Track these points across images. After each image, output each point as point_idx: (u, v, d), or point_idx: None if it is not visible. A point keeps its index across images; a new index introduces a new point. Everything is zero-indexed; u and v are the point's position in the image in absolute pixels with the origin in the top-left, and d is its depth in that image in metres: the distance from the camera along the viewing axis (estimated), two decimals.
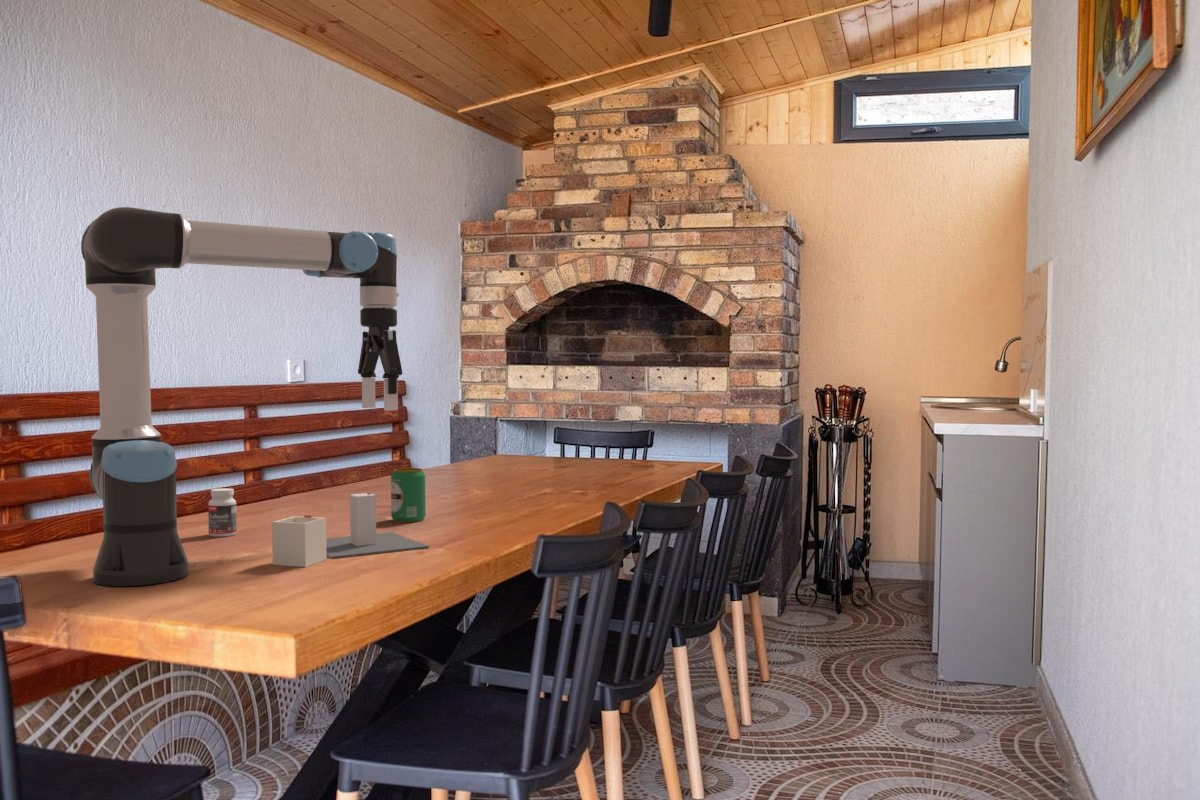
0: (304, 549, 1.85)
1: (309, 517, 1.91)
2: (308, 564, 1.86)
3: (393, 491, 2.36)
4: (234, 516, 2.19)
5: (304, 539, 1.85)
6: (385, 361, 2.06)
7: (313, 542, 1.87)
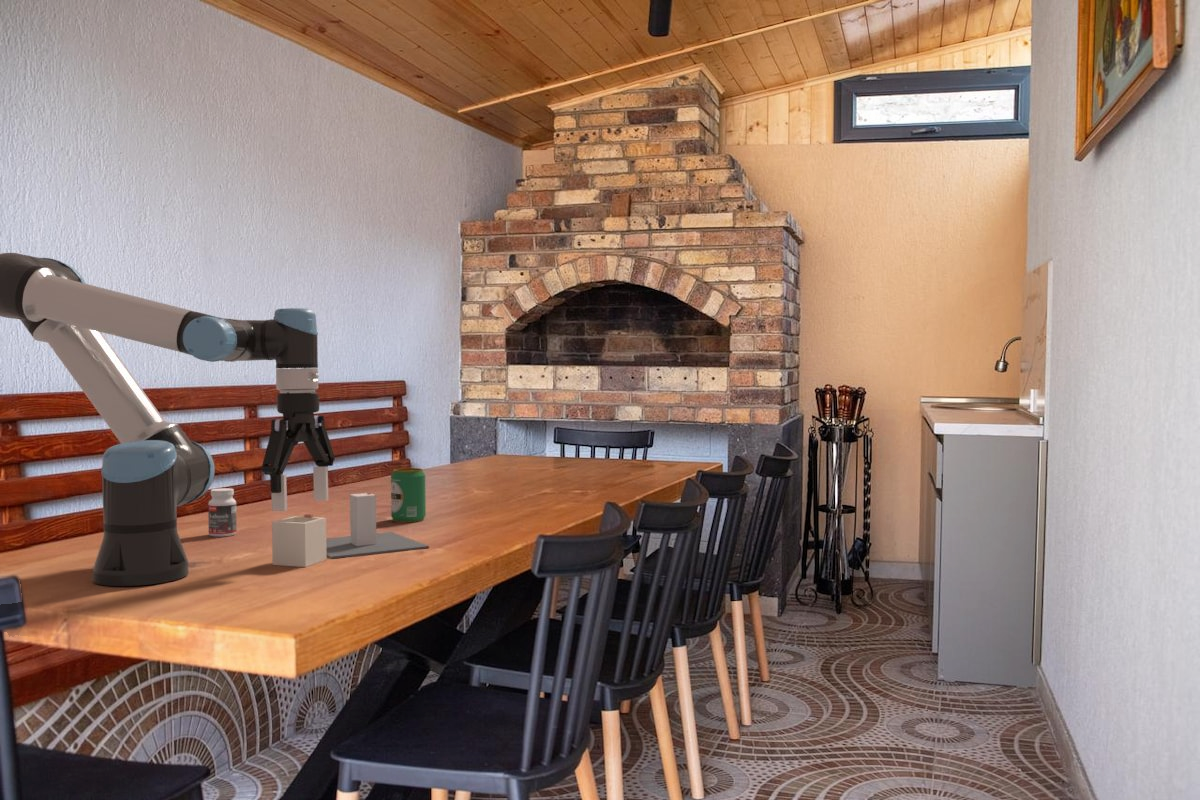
0: (304, 549, 1.85)
1: (309, 517, 1.91)
2: (308, 564, 1.86)
3: (393, 491, 2.36)
4: (234, 516, 2.19)
5: (304, 539, 1.85)
6: None
7: (313, 542, 1.87)
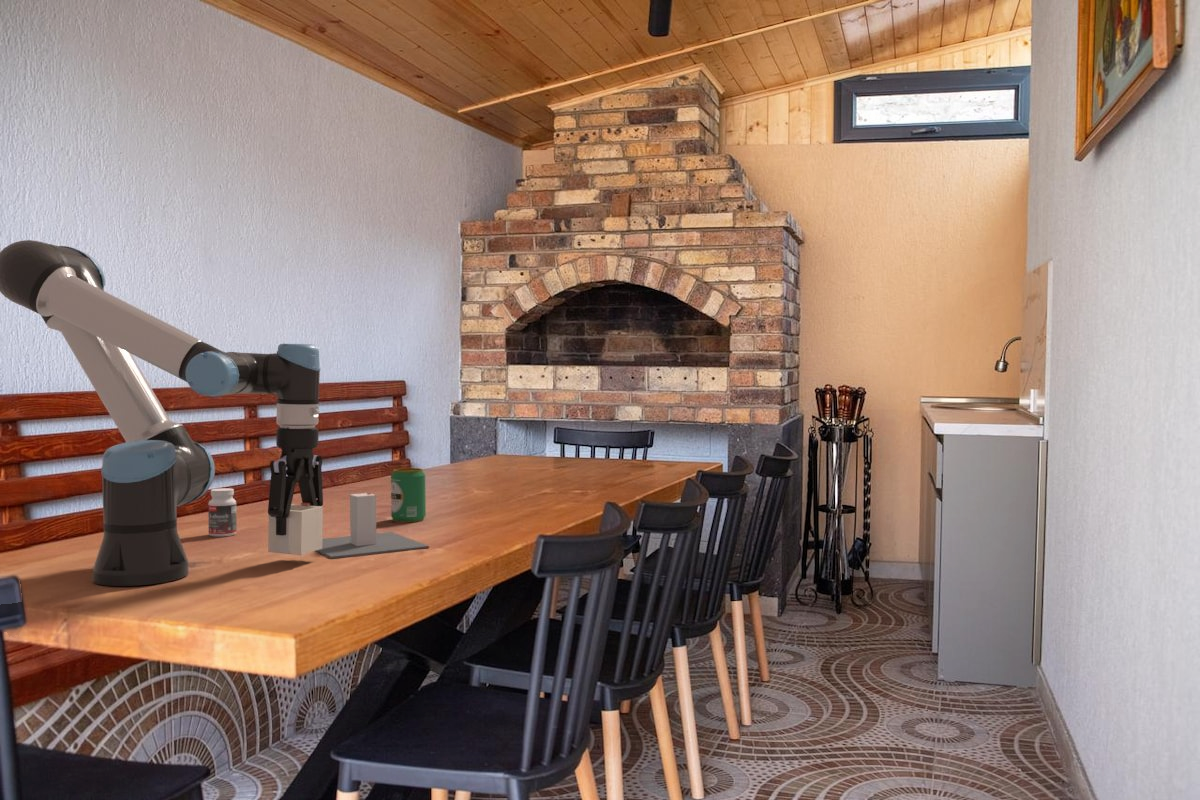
0: (300, 537, 1.85)
1: (306, 505, 1.91)
2: (304, 552, 1.86)
3: (393, 491, 2.36)
4: (234, 516, 2.19)
5: (300, 527, 1.85)
6: None
7: (309, 530, 1.87)
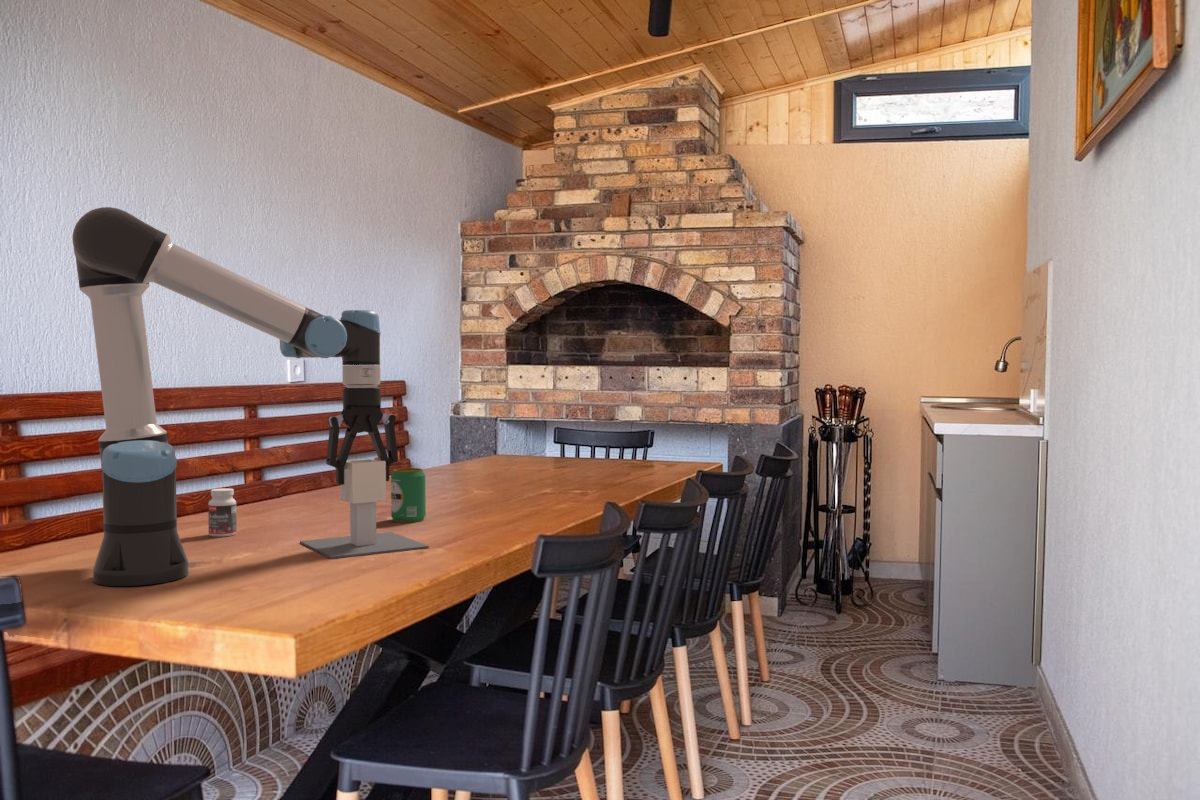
0: (352, 487, 2.01)
1: (376, 460, 2.07)
2: (357, 501, 2.02)
3: (393, 491, 2.36)
4: (234, 516, 2.19)
5: (352, 478, 2.01)
6: (340, 449, 2.04)
7: (365, 482, 2.02)
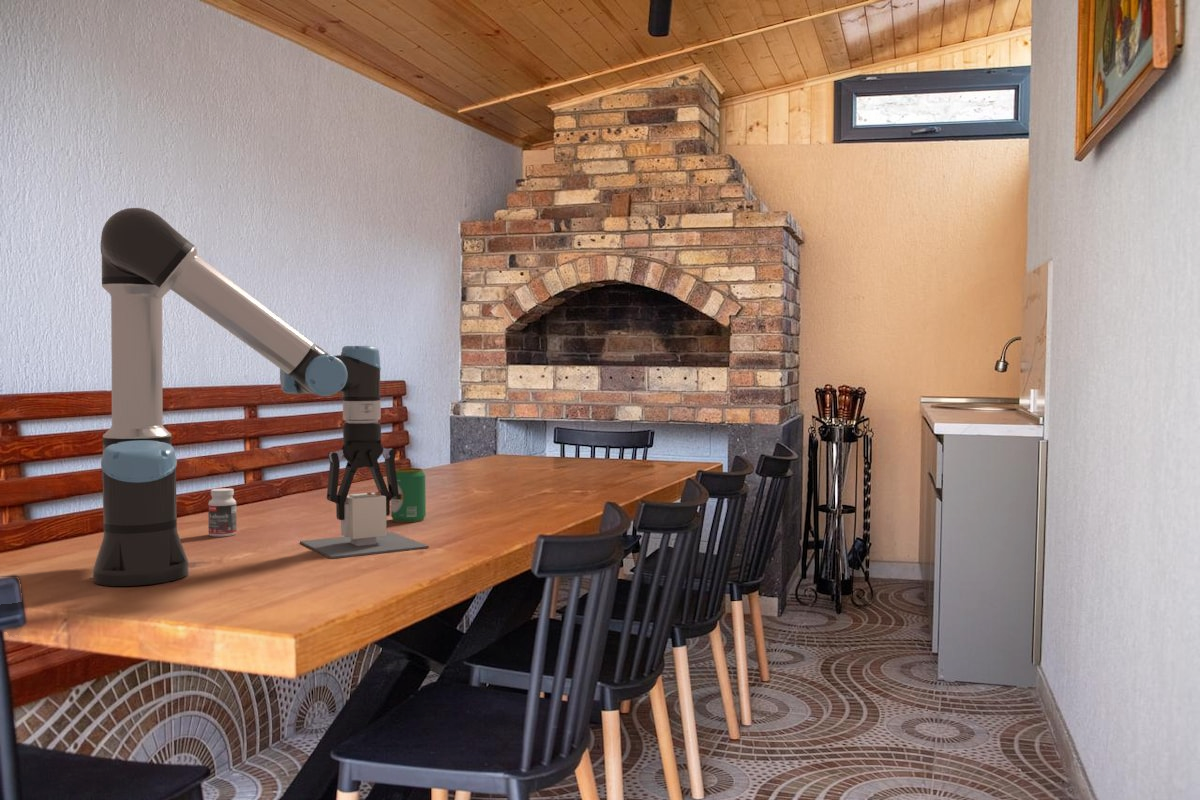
0: (352, 522, 2.01)
1: (376, 494, 2.07)
2: (357, 537, 2.02)
3: None
4: (234, 516, 2.19)
5: (352, 513, 2.01)
6: (341, 484, 2.04)
7: (365, 517, 2.03)
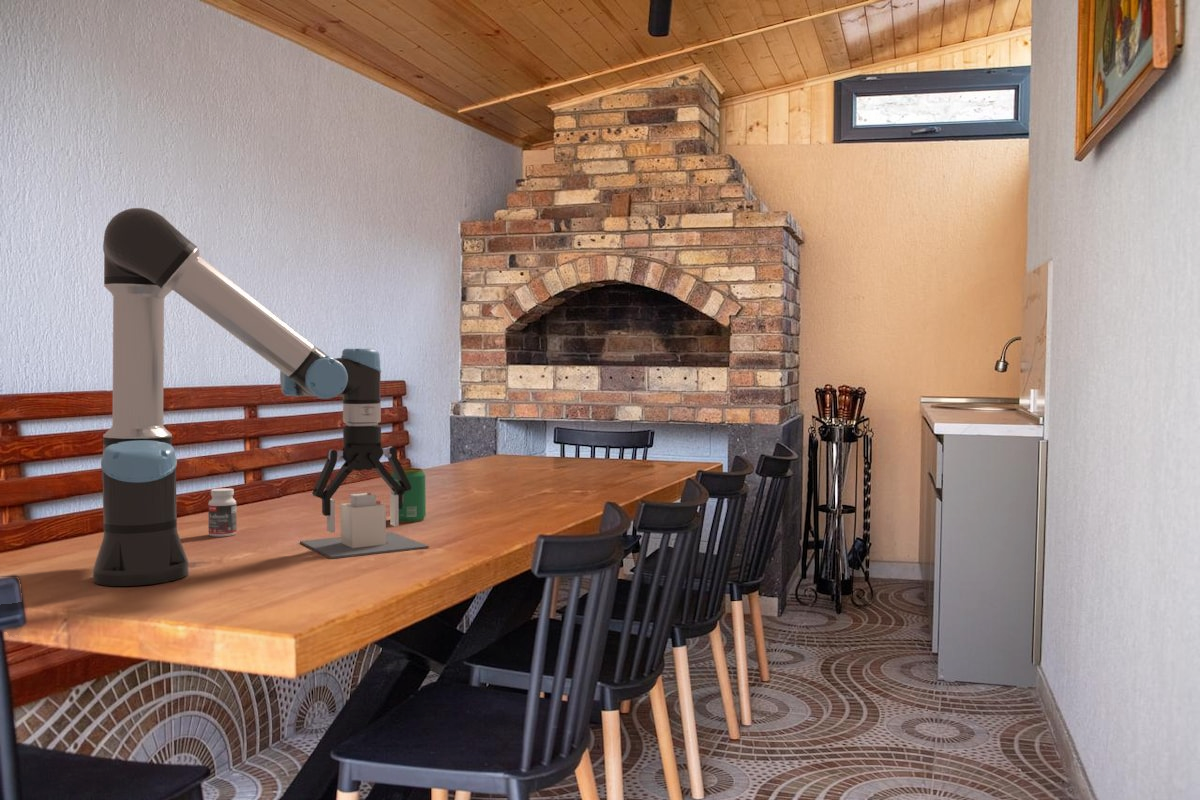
0: (352, 531, 2.01)
1: (376, 503, 2.07)
2: (356, 546, 2.02)
3: (393, 491, 2.36)
4: (234, 516, 2.19)
5: (352, 522, 2.01)
6: (332, 481, 2.03)
7: (365, 526, 2.03)
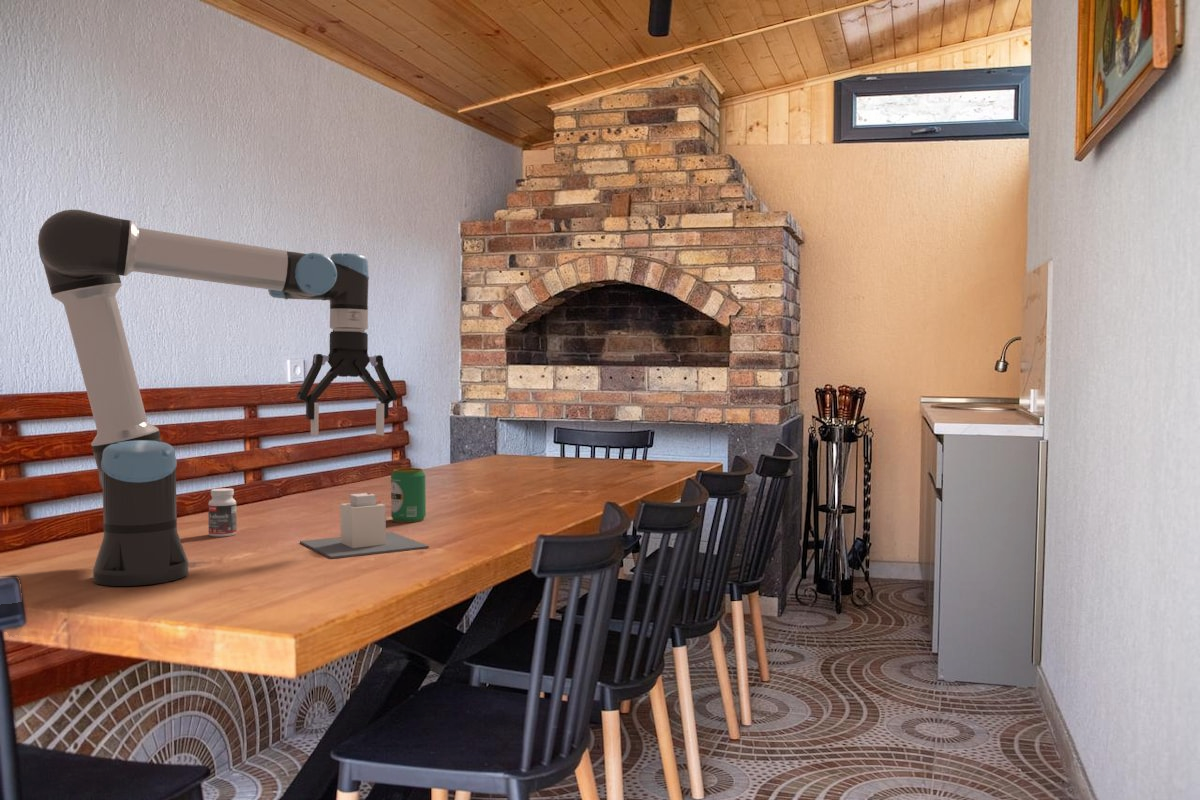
0: (352, 531, 2.01)
1: (376, 503, 2.07)
2: (356, 546, 2.02)
3: (393, 491, 2.36)
4: (234, 516, 2.19)
5: (352, 522, 2.01)
6: (316, 386, 2.02)
7: (365, 526, 2.03)
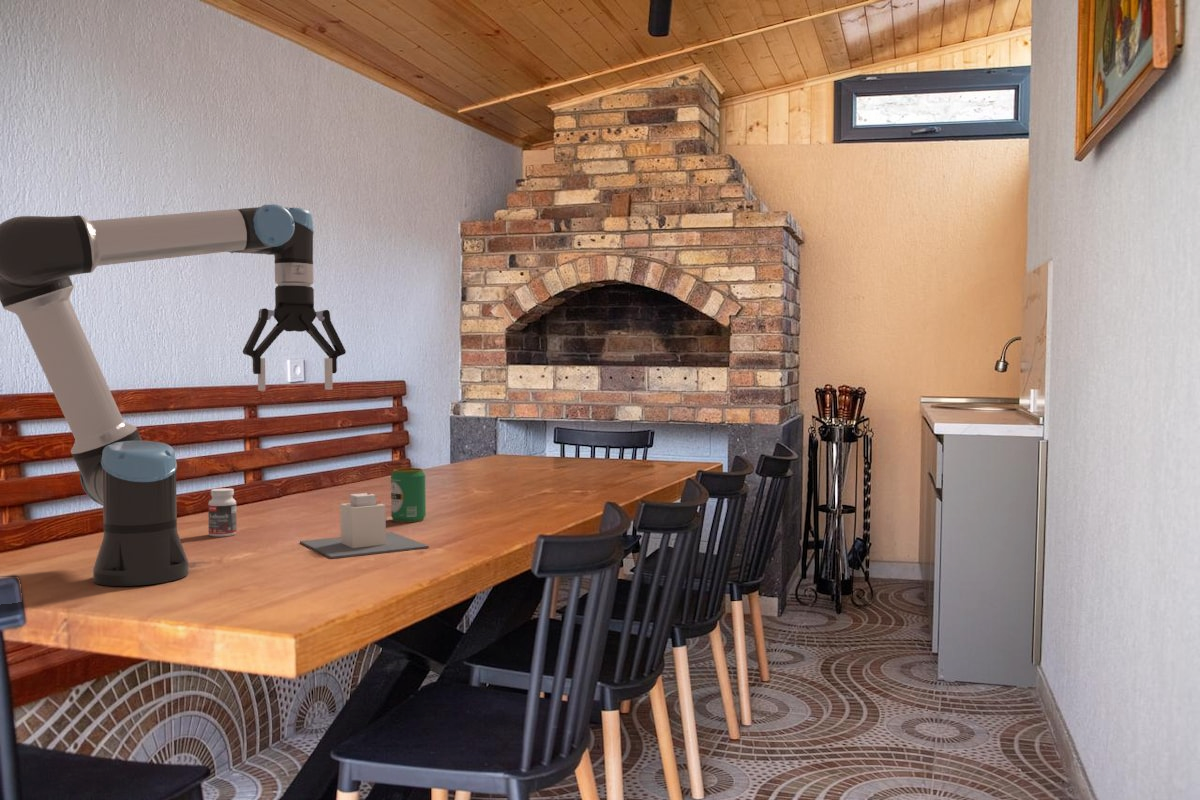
0: (352, 531, 2.01)
1: (376, 503, 2.07)
2: (356, 546, 2.02)
3: (393, 491, 2.36)
4: (234, 516, 2.19)
5: (352, 522, 2.01)
6: (263, 340, 2.03)
7: (365, 526, 2.03)
